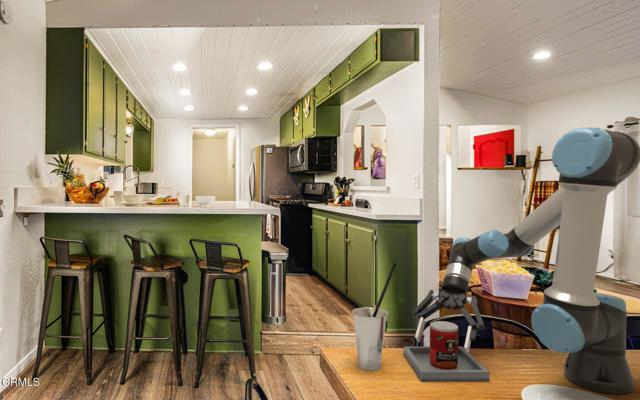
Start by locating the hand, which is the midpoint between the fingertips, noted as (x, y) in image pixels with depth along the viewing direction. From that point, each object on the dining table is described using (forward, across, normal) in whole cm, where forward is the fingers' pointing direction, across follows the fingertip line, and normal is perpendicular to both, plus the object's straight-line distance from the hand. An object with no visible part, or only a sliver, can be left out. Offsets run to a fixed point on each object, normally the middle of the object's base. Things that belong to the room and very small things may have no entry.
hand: (441, 344), depth 111 cm
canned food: (+3, 0, -6) cm, 7 cm away
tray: (+3, 0, -7) cm, 7 cm away
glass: (+12, +17, +1) cm, 20 cm away
